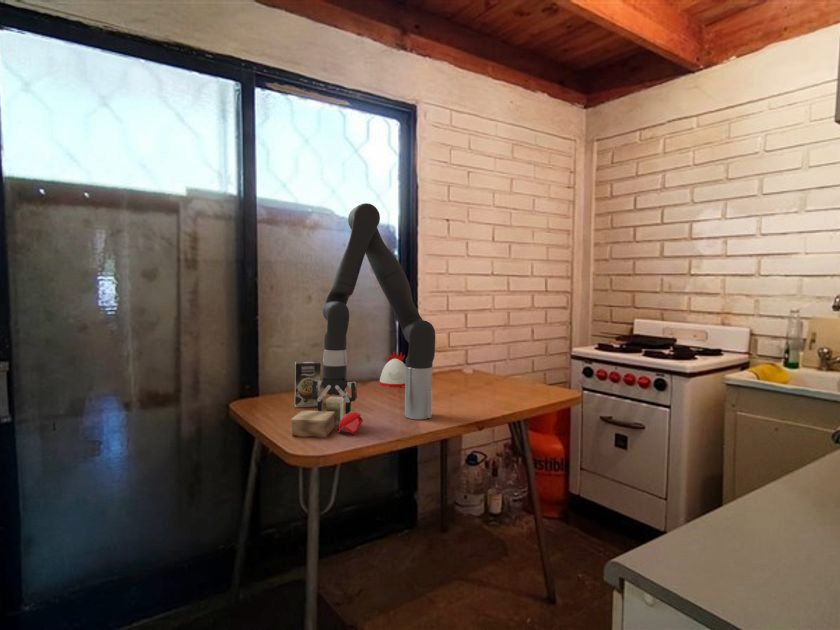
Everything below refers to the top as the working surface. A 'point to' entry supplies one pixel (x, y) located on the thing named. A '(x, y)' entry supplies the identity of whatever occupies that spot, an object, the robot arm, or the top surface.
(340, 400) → the tea tin
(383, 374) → the kitchen timer
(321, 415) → the beige flat block
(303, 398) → the coffee box
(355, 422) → the cap
